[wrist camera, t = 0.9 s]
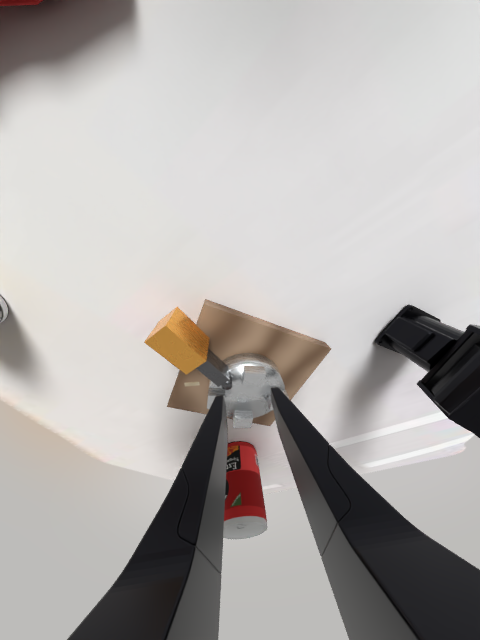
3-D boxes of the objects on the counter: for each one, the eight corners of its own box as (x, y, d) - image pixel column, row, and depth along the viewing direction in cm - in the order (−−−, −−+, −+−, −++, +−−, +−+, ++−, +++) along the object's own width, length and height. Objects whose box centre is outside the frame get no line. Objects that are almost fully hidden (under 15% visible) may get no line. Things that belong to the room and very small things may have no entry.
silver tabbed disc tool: (291, 382, 25) (305, 412, 21) (238, 412, 27) (240, 445, 23) (204, 283, 17) (199, 299, 13) (139, 335, 20) (116, 363, 15)
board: (325, 342, 25) (331, 349, 23) (268, 417, 32) (270, 426, 30) (205, 299, 20) (203, 304, 19) (169, 398, 27) (166, 407, 26)
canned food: (233, 436, 34) (237, 520, 24) (263, 446, 36) (278, 525, 27) (212, 454, 36) (207, 537, 26) (241, 463, 39) (247, 541, 29)
